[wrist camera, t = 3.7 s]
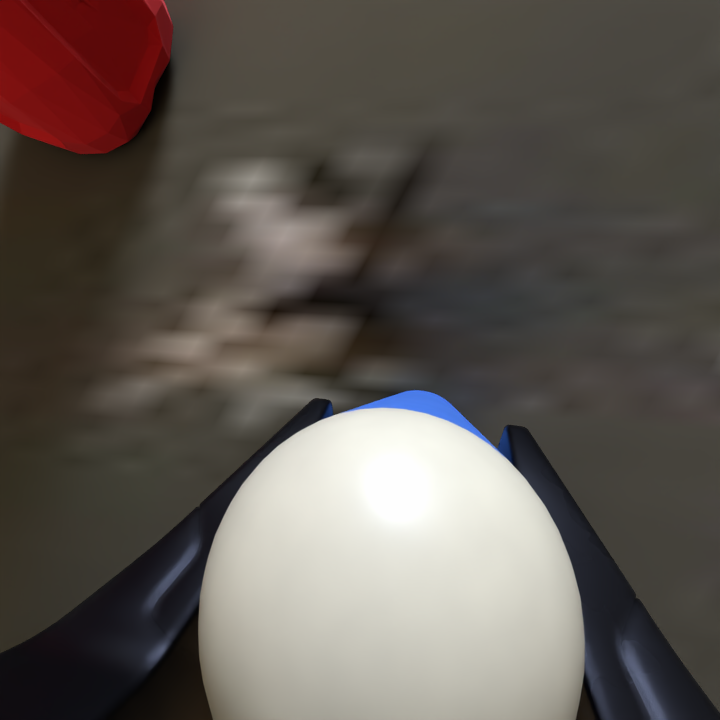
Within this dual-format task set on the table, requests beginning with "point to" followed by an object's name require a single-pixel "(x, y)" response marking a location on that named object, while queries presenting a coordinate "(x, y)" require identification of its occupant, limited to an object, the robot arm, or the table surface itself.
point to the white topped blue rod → (390, 579)
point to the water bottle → (81, 69)
